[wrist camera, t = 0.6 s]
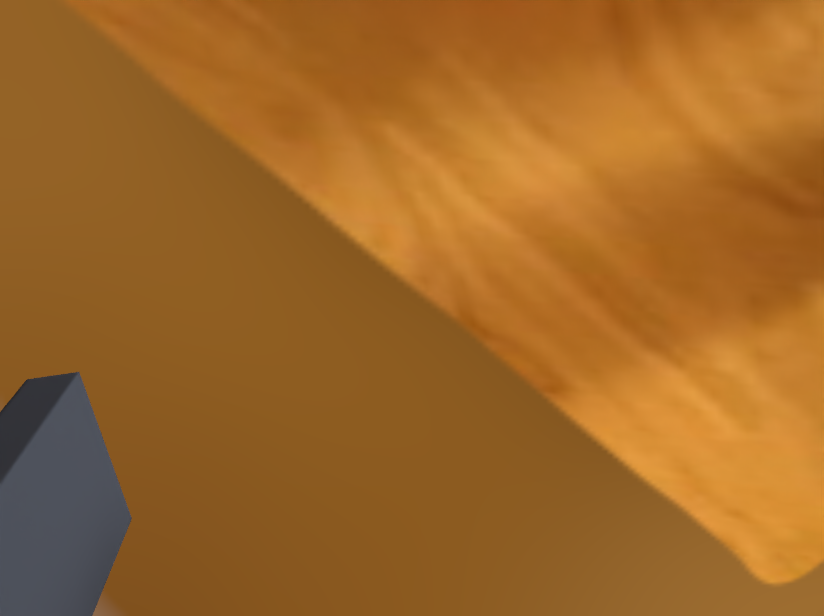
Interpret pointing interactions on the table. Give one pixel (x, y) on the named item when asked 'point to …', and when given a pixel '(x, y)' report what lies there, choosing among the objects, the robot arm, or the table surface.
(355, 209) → the table surface
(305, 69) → the table surface
